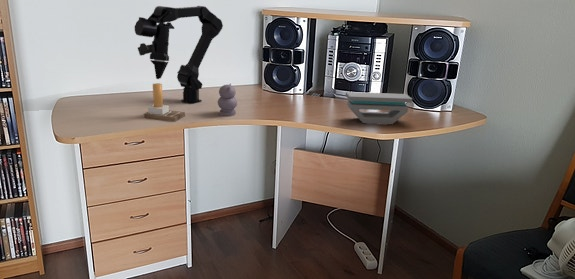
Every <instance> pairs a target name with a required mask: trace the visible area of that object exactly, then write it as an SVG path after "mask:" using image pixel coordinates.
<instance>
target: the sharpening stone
mask: <svg viewBox="0 0 575 279" xmlns="http://www.w3.org/2000/svg"><path fill="white" fill-rule="evenodd" d="M345 97H346V99H348V100H347V104H346V105H347V107H348V108H349V109H350V111H351V112H352V113H353V114H354V115H355V116H356V117H357V119H358V120H359V121H361V123H362V124H363V123H378V124H377V125H387V124H392V125H394V124H395V123H396V122H397V121H398V120H399V119H401V118H402V117H403V116H405V115H406V114H407V113H409V112H408V110H409V106H408V105H407V104H406V103H413V97H410V95H408V94H407V93H389V92H388V93H387V92H385V93H381V92H358V91H357V92H356V91H355V92H354V91H345ZM360 110H365V111H360ZM366 110H367V111H366ZM371 110H372V111H371ZM376 110H377V111H376ZM380 111H383V112H380ZM385 111H388V112H385ZM379 123H380V124H379Z"/></svg>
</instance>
